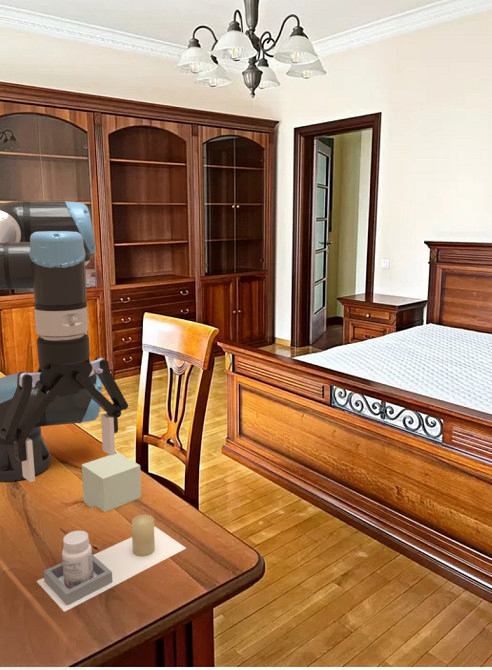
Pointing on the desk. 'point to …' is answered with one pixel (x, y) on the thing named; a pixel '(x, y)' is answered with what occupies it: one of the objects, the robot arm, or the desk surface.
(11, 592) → the desk surface
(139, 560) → the board
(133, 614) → the desk surface
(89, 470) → the housing
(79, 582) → the pill bottle
